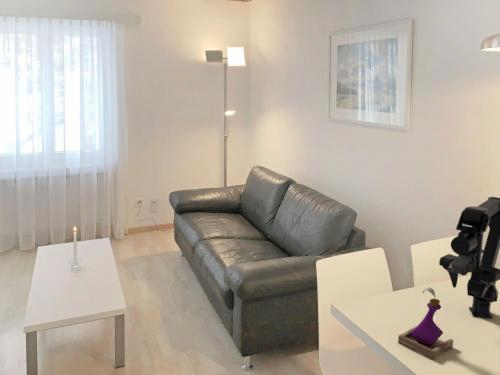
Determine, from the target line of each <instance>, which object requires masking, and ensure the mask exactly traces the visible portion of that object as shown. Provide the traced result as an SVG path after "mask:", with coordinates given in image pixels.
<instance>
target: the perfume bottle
mask: <svg viewBox="0 0 500 375" xmlns="http://www.w3.org/2000/svg"><path fill="white" fill-rule="evenodd" d="M425 291H427V292H429V293H430V294H431V295H432V296H433V297H434V298H431V299H430V300H429V302H428V303H427V304H426V307H427V308H428V311H427V312H426V314H425V316H423V319H422V320H421V321H420V323H419V324H418V325H417V327H416V326H415V327H416V328H415V329H414V330H413V331H412V332H411V335H412V336H413V338H414V339H415V340H416V342H417V343H420V344H422V345H425V346H428V347H431V346H432V345H433V344H434V343H435V342H436V341H437V340H438V339H439V338H440V337H441V336H442V335H443V334H444V332H443V330H442V329H441V328H440V327H439V326H438V325H437V324H436V322H434V315H435V313H437V311H438V310H441V308H442V306H441V304H440V303H441V300H440V299H438V298H436V292H435V290H434V288H432V287H426V288H424V290H422V294H424V293H425Z"/></svg>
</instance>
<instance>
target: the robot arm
mask: <svg viewBox="0 0 500 375" xmlns="http://www.w3.org/2000/svg"><path fill="white" fill-rule="evenodd" d="M488 228H489V231H488V234H487V237H486V241H485V244H484V248H483V243H484V233H485V232H486V231H487V230H488ZM455 230H457V231H459V232H458V233H457V234H458V235H457V236H455V237H454V238H452V240H451V242H450V248H451V249H452V251H453V252H454V253H455V254H456V255H453V254H450V253H448V254H446V255H443V256H441V257H440V258H439V261H438V265H439V266H441V267H442V268H443V269H444V270H446V272H447V273H448V275H449V278H450V281H451V284H452V287H453V289H454V288H456V287H457V285H458V284H457V283H458V279H459V275H460V276H467V274H468V273H470V274H471V275H470V278H469V279H468V281H467V285H466V289H467V292H466V293H467V296H470V297H472V303H471V304H472V305H471V306H469V307H468V309H469V311H470V313H471V316H472V317H477V318H489V319H492V318H494V317H493V314H492V312H491V305H492V304H493V303H496V302H498V297H499V291H498V289H497V286H496V283H497V281H500V268H497V267H496V263H497V259H498V255H499V251H500V197H497V196H489V197H488V198H487V200H485V201H484V202H482V203H481V204H479V205H477V206H467V207H465V208H464V209H463V210H462V211H461V213H460V217H459V219H458V222H457V225H456V228H455ZM486 233H487V232H486ZM457 255H458V256H457Z"/></svg>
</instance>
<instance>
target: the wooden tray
mask: <svg viewBox="0 0 500 375" xmlns="http://www.w3.org/2000/svg"><path fill="white" fill-rule="evenodd" d="M417 326H418V325H417ZM417 326H415V327H412V328H411V329H409V330H407V331H405V332H403V333H401V334H400V335H398V336H397V337H398V339H397V340H398V341H397V344H399V345H401V346H403V347H405V348H406V349H410V350H411V351H413V352H416V353H418V354H420V355H422V356H424V357H426V358H428V359H429V360H432V361H433V360H435V359H436V358H438V357H439V356H441V355H442V354H444V353H446V352H448V351H449V350H451V349H452V348H453V347H454V346H453V345H454V339H452V338H449V339H447V340H446V341H443V340H441V339H439V338H438V340H437V341H436V342H435V343H434V344H433V345H432V346H431V347H428V346H425V345H422V344H420V343H417V342H416V340H415V339H414V338H413V336H412V335H411V332H412V331H413V330H414V329H415V328H416V327H417Z"/></svg>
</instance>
